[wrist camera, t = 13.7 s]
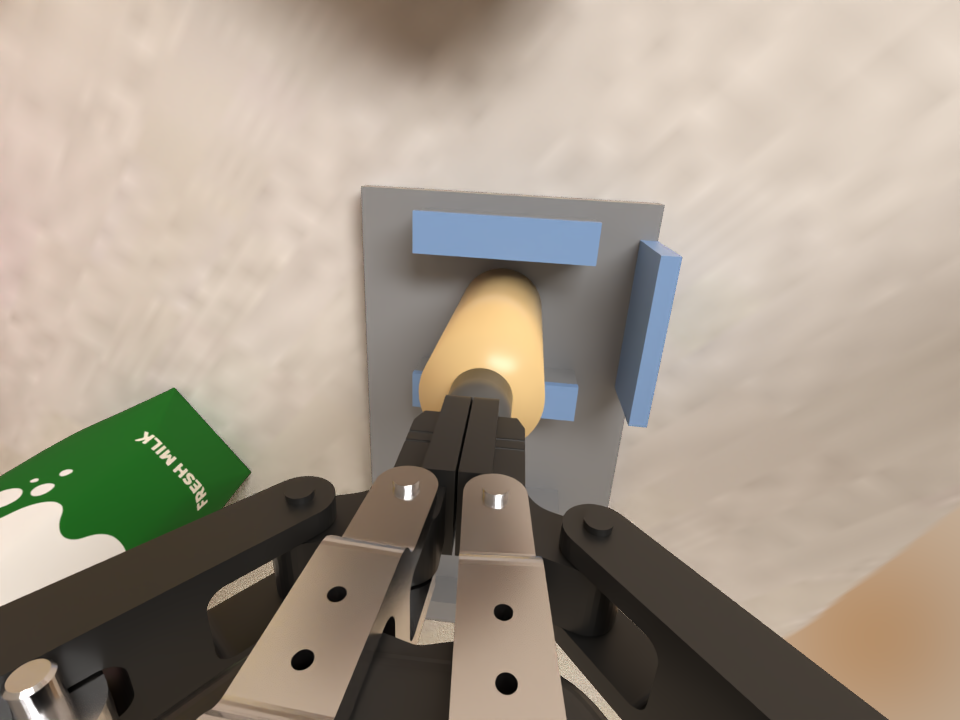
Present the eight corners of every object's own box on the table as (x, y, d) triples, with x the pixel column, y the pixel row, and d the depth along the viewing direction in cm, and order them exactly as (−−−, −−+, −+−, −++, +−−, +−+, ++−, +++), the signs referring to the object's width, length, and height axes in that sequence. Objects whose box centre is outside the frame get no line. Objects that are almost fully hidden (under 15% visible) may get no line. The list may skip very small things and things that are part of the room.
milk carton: (82, 433, 32) (-549, 818, 13) (176, 366, 29) (-445, 728, 11) (179, 529, 34) (-241, 971, 15) (273, 475, 31) (-94, 927, 13)
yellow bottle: (545, 271, 24) (553, 370, 13) (537, 348, 25) (538, 496, 14) (463, 265, 24) (402, 356, 13) (460, 341, 26) (403, 481, 15)
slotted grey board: (659, 203, 23) (691, 214, 18) (584, 607, 33) (593, 680, 28) (367, 185, 24) (328, 191, 19) (380, 583, 34) (356, 650, 29)
